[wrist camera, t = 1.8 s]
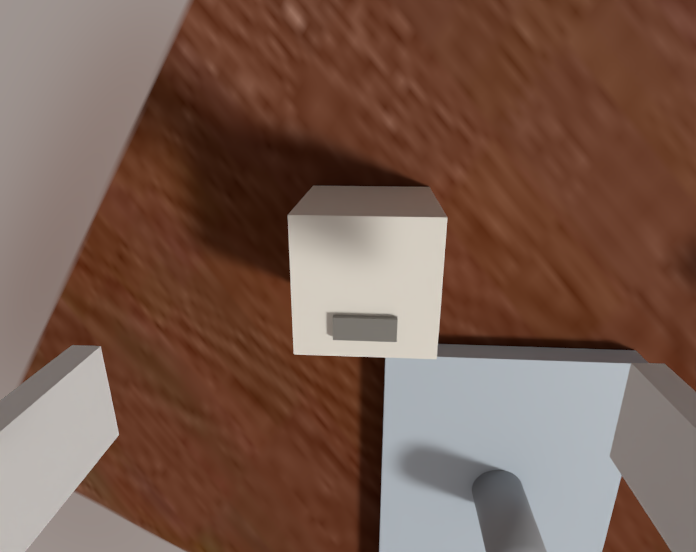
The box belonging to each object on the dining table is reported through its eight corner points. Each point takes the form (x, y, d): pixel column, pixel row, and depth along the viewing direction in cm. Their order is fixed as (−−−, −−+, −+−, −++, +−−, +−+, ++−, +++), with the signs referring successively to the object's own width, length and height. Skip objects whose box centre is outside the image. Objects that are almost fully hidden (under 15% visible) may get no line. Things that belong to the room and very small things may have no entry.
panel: (385, 342, 27) (386, 410, 21) (635, 350, 26) (712, 424, 20) (378, 566, 33) (377, 669, 27) (580, 579, 32) (626, 689, 26)
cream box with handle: (313, 185, 24) (286, 216, 17) (429, 186, 24) (448, 219, 17) (315, 292, 26) (292, 357, 19) (422, 295, 26) (437, 363, 19)
